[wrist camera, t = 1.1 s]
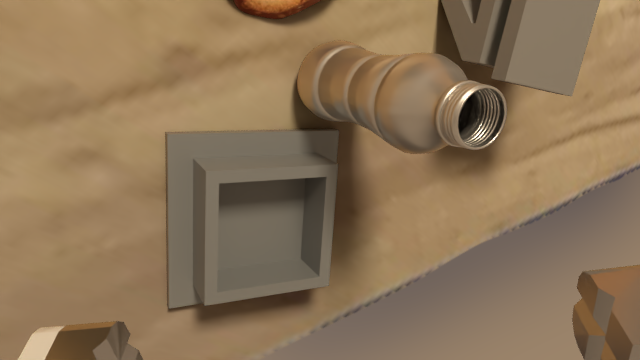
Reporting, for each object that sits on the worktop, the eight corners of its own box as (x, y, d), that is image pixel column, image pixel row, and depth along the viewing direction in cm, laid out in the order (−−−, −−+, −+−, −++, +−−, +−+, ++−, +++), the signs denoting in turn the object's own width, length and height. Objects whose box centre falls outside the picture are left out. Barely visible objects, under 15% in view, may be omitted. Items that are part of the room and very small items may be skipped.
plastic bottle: (369, 74, 49) (544, 110, 32) (321, 130, 48) (472, 198, 31) (325, 22, 46) (493, 30, 29) (273, 81, 45) (412, 125, 28)
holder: (167, 304, 47) (178, 332, 42) (165, 132, 42) (178, 145, 38) (323, 279, 53) (346, 302, 49) (335, 128, 49) (361, 139, 45)
